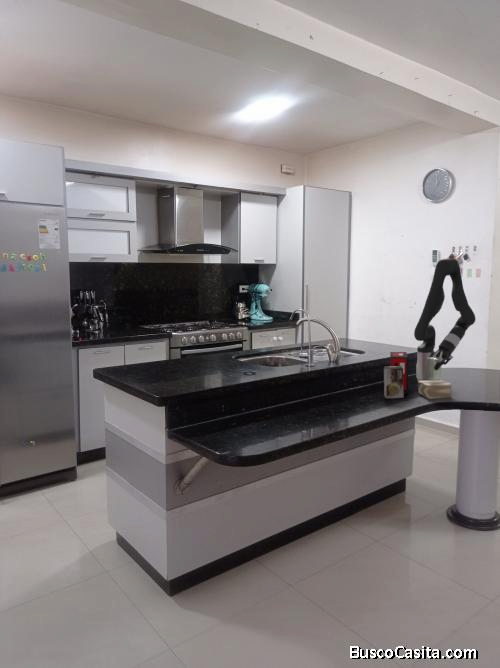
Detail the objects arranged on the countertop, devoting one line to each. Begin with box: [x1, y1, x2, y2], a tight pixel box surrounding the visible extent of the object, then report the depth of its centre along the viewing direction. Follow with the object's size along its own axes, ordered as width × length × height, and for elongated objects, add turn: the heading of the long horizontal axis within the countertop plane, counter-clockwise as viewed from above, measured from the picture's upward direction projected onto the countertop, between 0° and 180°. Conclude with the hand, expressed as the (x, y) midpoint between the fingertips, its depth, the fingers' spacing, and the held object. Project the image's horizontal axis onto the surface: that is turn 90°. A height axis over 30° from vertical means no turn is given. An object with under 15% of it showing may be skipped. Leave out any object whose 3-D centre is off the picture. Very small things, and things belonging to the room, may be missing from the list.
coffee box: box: [383, 365, 405, 399], centre depth 256 cm, size 9×6×16 cm
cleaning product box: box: [389, 351, 409, 394], centre depth 270 cm, size 16×9×20 cm, turn 164°
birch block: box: [417, 378, 453, 400], centre depth 256 cm, size 13×13×7 cm
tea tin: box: [427, 357, 443, 379], centre depth 255 cm, size 5×5×10 cm
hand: (431, 368), depth 254 cm, fingers closed on tea tin, 5 cm apart
